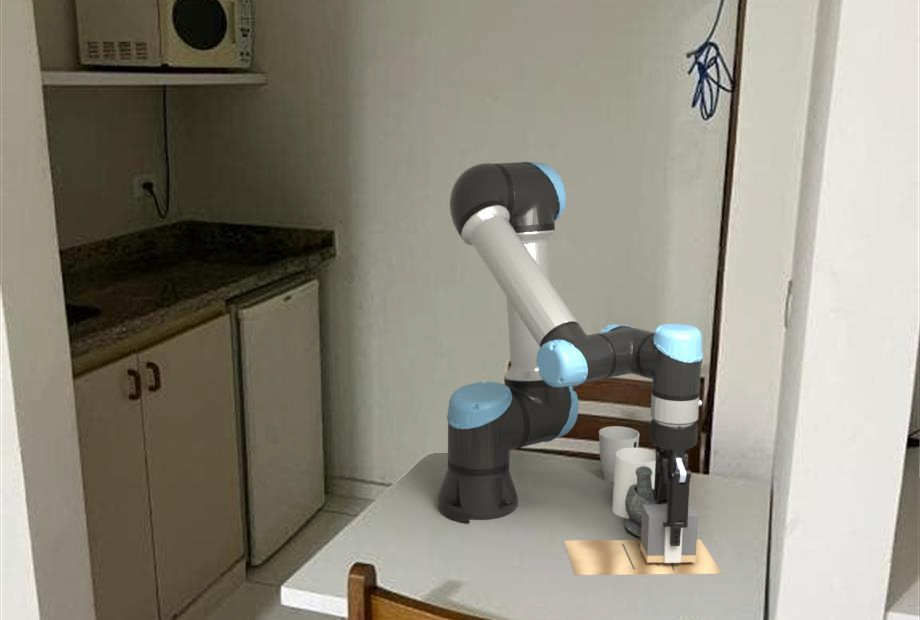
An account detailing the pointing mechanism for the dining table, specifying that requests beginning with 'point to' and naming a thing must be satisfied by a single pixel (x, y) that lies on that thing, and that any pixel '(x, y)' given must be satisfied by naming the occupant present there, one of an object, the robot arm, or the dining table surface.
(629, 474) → the mug
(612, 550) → the board
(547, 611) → the dining table surface
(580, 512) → the dining table surface
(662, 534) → the block
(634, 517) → the mortar and pestle
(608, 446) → the cup
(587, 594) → the dining table surface
